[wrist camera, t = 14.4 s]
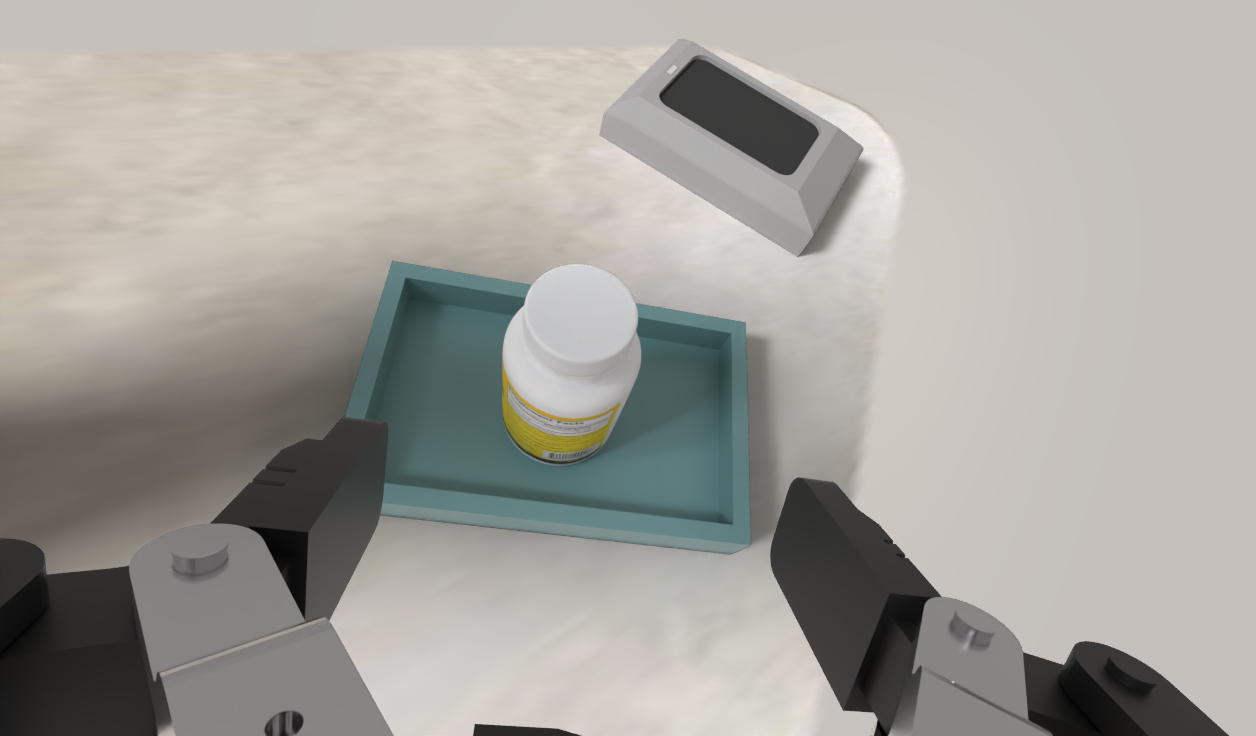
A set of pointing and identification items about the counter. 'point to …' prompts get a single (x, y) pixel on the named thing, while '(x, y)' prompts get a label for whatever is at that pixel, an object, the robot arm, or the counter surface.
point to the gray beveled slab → (734, 143)
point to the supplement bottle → (569, 364)
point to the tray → (535, 492)
